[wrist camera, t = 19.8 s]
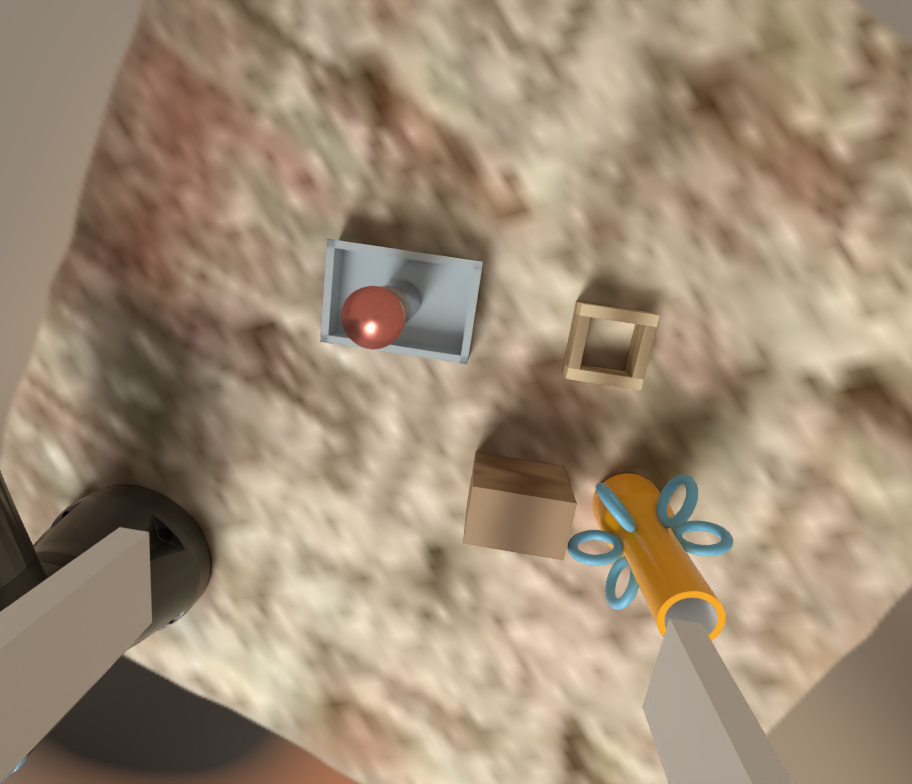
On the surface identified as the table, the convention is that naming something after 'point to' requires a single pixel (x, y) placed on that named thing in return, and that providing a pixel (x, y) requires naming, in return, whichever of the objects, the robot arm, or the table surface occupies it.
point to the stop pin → (379, 313)
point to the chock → (519, 506)
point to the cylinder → (654, 550)
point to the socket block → (636, 355)
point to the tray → (438, 281)
